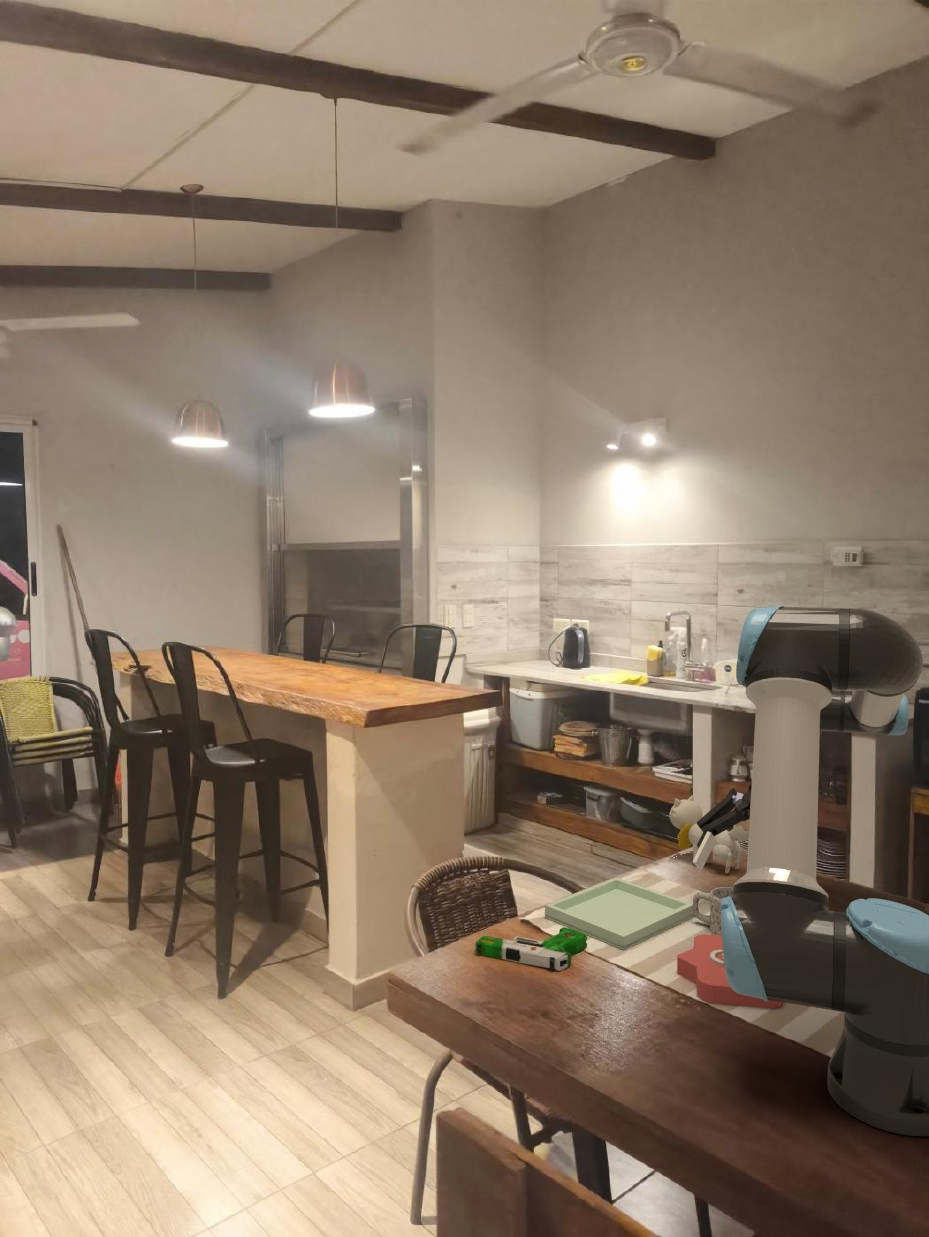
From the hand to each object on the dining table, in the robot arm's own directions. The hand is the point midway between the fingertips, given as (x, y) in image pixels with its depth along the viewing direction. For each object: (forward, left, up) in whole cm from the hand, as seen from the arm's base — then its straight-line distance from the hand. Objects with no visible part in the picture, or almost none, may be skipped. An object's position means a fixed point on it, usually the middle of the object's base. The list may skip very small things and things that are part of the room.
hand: (729, 876), depth 166 cm
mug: (-4, -1, -9) cm, 9 cm away
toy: (+21, +17, -9) cm, 29 cm away
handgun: (-34, +16, -9) cm, 38 cm away
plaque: (-18, -11, -9) cm, 23 cm away
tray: (-13, +14, -8) cm, 21 cm away
